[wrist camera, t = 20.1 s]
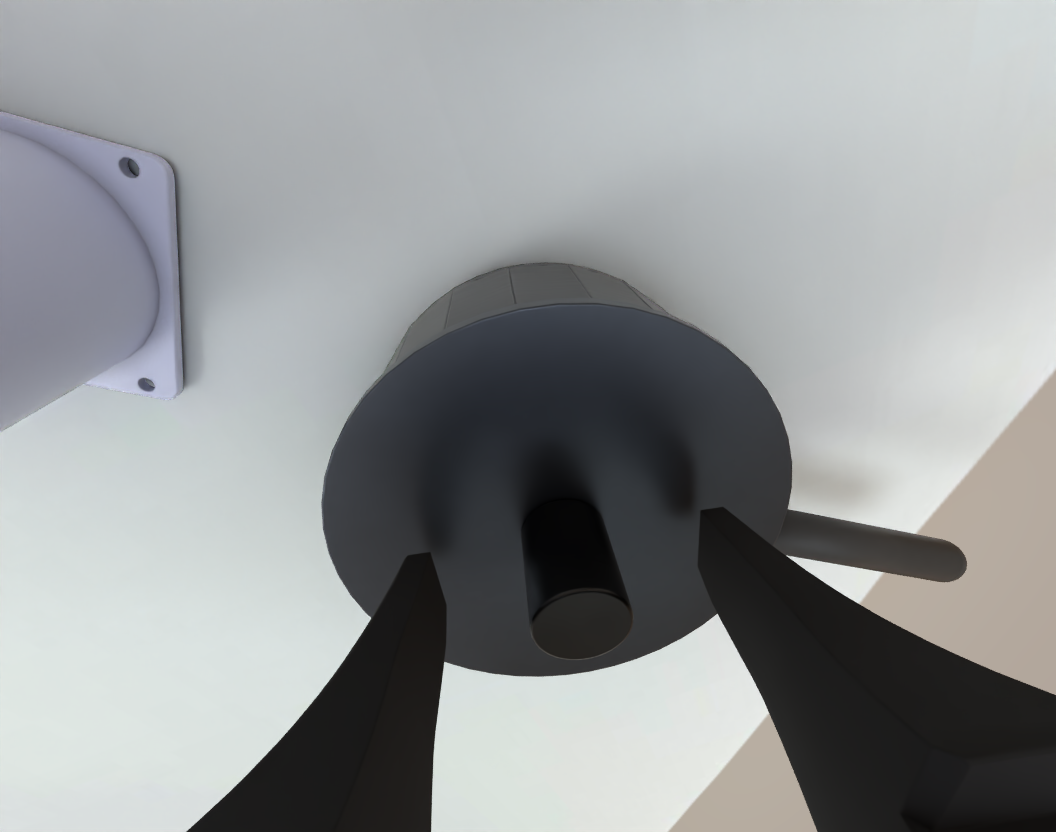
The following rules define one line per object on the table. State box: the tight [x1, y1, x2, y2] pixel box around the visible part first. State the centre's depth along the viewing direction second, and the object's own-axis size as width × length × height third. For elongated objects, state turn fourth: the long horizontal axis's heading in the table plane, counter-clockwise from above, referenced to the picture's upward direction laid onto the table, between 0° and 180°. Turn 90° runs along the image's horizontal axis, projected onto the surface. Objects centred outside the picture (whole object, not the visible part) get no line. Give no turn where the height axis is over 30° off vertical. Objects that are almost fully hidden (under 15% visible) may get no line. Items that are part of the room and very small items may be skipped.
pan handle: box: [774, 509, 967, 582], centre depth 18 cm, size 11×2×2 cm, turn 74°
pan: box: [384, 263, 668, 372], centre depth 17 cm, size 12×12×6 cm
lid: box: [322, 298, 792, 677], centre depth 13 cm, size 13×13×4 cm
